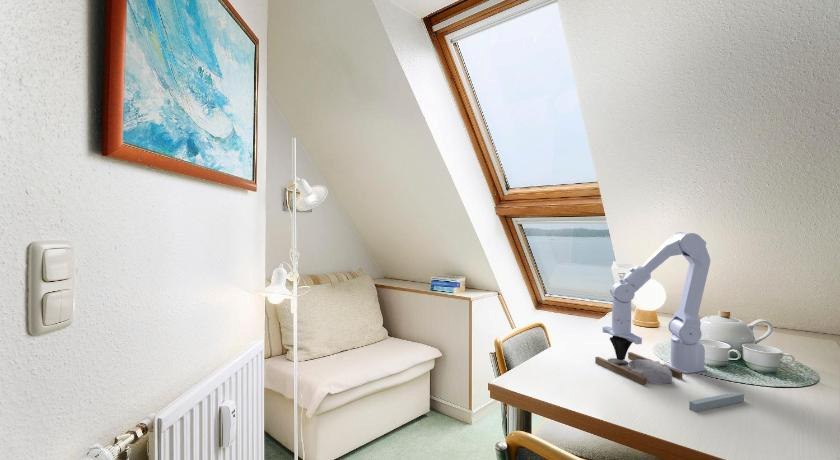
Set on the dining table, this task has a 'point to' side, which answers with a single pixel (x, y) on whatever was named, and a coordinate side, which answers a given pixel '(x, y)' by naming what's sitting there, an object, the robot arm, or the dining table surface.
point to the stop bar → (716, 401)
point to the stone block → (651, 371)
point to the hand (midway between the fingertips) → (620, 359)
